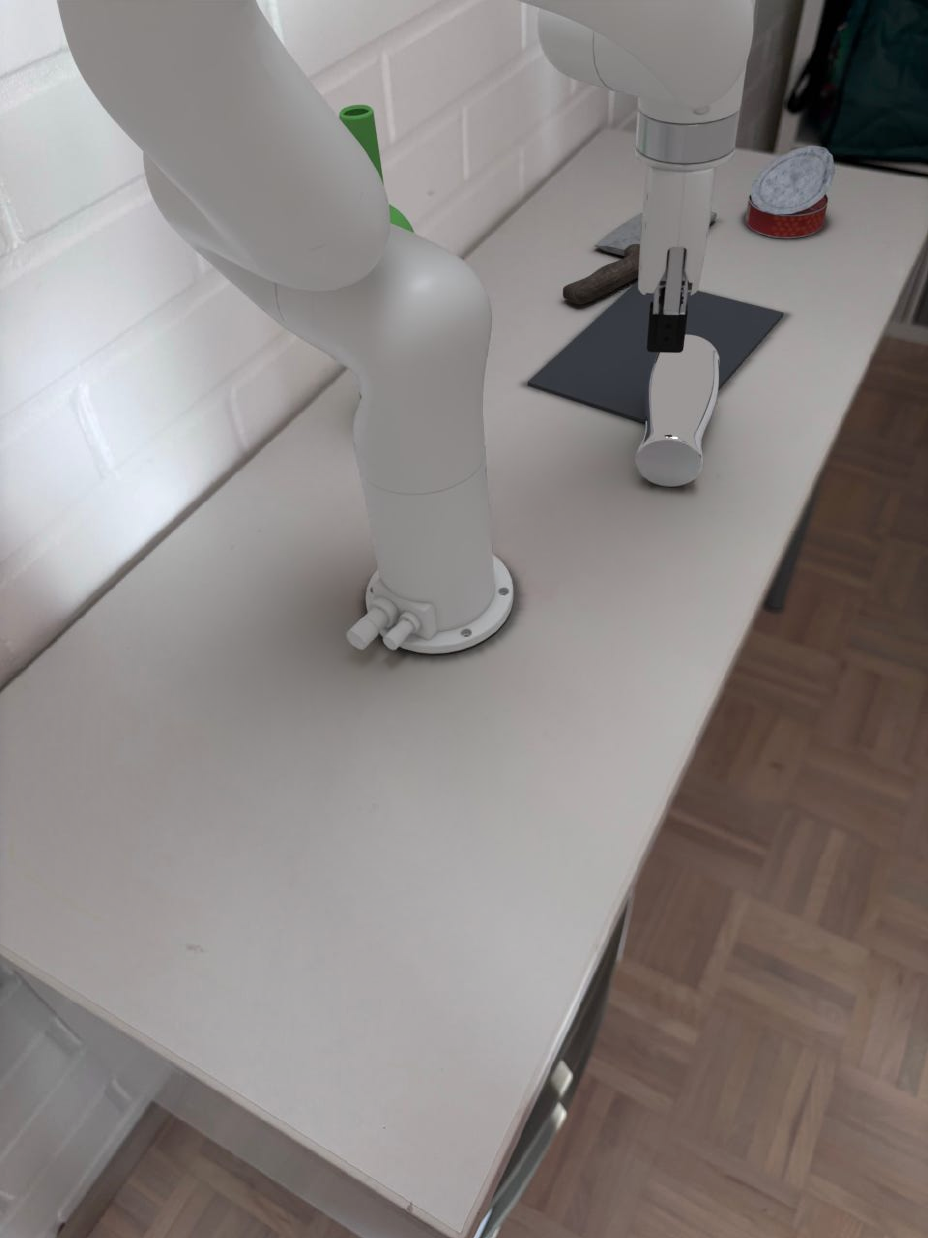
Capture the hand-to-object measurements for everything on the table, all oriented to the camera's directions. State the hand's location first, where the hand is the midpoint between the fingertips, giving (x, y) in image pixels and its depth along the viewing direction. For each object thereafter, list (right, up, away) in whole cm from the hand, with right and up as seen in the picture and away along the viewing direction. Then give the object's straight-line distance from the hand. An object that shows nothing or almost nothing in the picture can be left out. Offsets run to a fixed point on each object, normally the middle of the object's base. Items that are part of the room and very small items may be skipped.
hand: (664, 347), depth 85 cm
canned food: (+24, +27, +39) cm, 53 cm away
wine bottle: (-25, -3, +16) cm, 29 cm away
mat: (+4, +6, +20) cm, 21 cm away
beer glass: (+1, -10, +2) cm, 10 cm away
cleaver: (+3, +22, +35) cm, 42 cm away
